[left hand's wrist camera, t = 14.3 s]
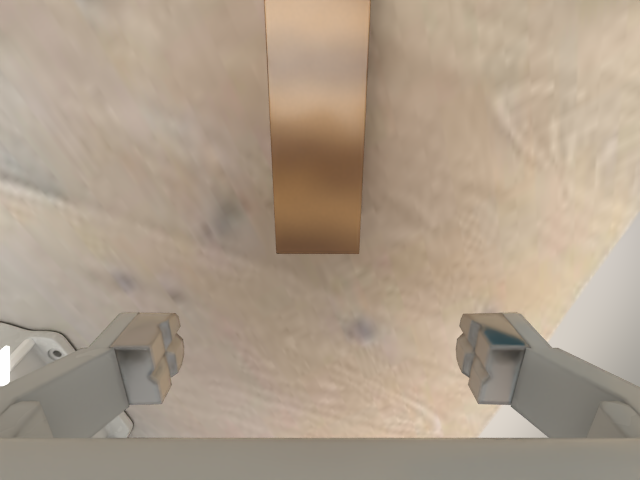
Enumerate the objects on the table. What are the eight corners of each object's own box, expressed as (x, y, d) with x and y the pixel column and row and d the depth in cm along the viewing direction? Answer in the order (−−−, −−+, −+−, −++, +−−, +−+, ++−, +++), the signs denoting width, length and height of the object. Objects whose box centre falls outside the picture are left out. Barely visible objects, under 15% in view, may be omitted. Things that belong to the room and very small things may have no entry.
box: (349, 216, 34) (359, 254, 26) (286, 216, 34) (276, 253, 26) (360, -88, 25) (378, -172, 17) (276, -88, 25) (255, -172, 17)
